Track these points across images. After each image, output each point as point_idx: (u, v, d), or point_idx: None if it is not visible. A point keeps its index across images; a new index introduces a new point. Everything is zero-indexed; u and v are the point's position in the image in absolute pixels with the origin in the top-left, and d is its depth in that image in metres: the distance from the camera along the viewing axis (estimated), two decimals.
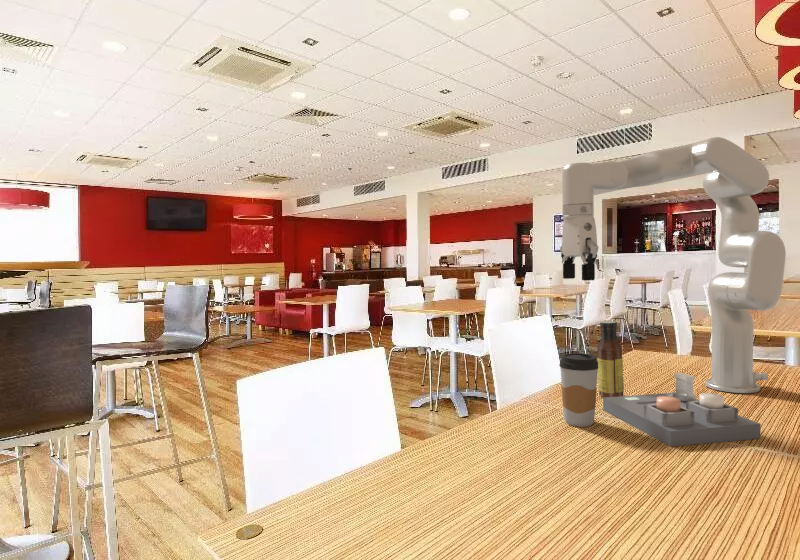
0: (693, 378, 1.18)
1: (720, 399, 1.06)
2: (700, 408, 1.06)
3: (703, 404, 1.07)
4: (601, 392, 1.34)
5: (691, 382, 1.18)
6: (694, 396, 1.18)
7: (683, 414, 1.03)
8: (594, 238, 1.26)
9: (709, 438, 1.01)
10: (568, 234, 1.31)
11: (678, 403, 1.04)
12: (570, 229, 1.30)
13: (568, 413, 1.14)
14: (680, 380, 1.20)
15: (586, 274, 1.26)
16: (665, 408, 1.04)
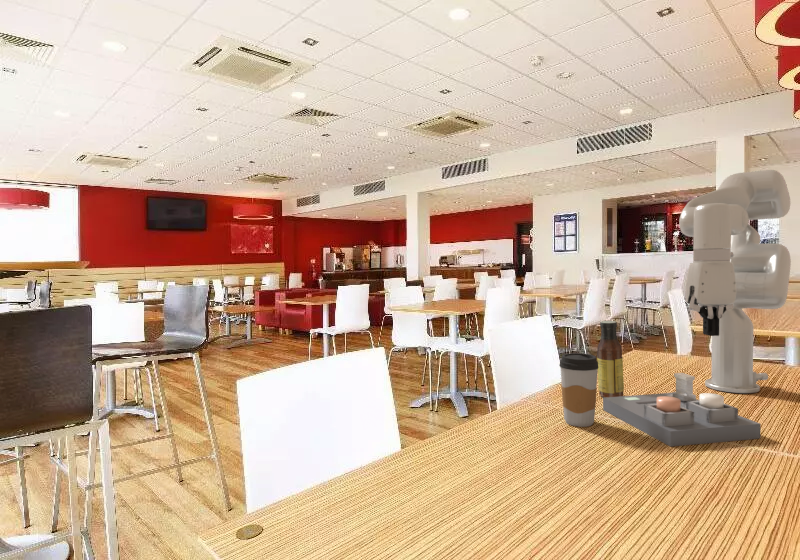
0: (693, 378, 1.18)
1: (720, 399, 1.06)
2: (700, 408, 1.06)
3: (703, 404, 1.07)
4: (601, 392, 1.34)
5: (691, 382, 1.18)
6: (694, 396, 1.18)
7: (683, 414, 1.03)
8: None
9: (709, 438, 1.01)
10: (718, 281, 1.17)
11: (678, 403, 1.04)
12: (722, 275, 1.17)
13: (568, 413, 1.14)
14: (680, 380, 1.20)
15: None
16: (665, 408, 1.04)
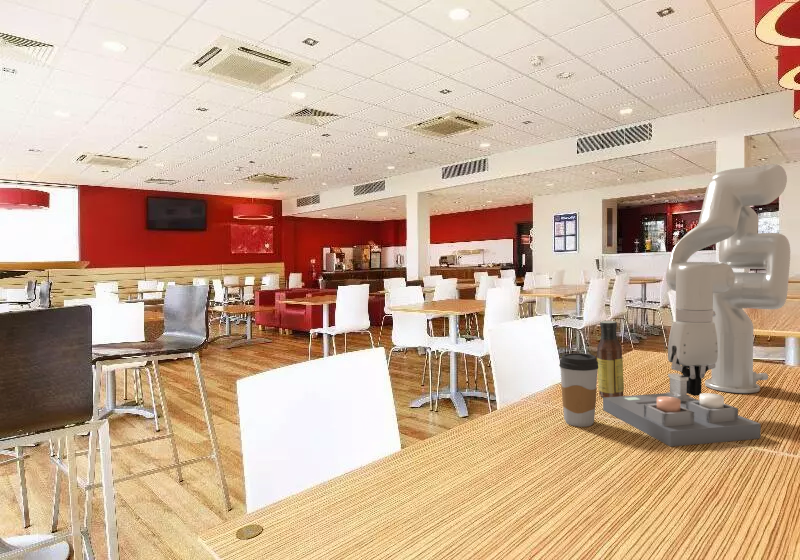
0: (687, 378, 1.18)
1: (720, 399, 1.06)
2: (700, 408, 1.06)
3: (703, 404, 1.07)
4: (601, 392, 1.34)
5: (685, 382, 1.18)
6: (688, 396, 1.18)
7: (683, 414, 1.03)
8: None
9: (709, 438, 1.01)
10: (700, 342, 1.17)
11: (678, 403, 1.04)
12: (704, 336, 1.17)
13: (568, 413, 1.14)
14: (674, 380, 1.20)
15: None
16: (665, 408, 1.04)
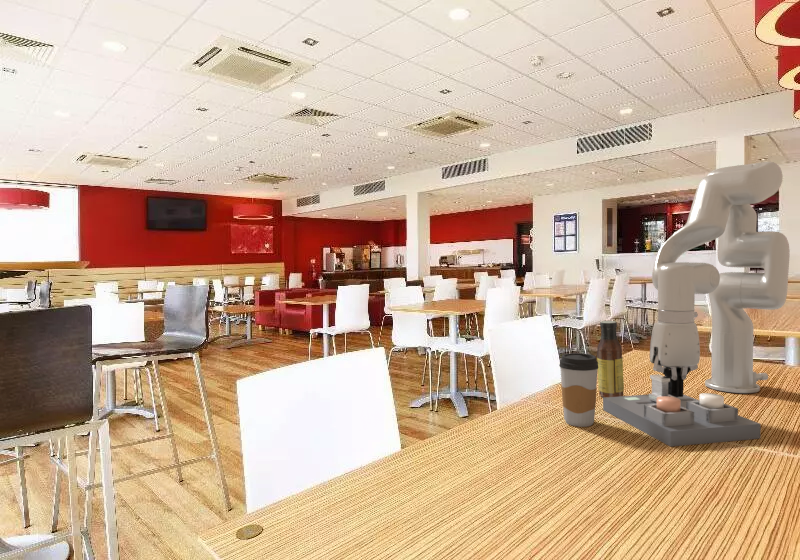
0: (668, 380, 1.17)
1: (720, 399, 1.06)
2: (700, 408, 1.06)
3: (703, 404, 1.07)
4: (601, 392, 1.34)
5: (667, 383, 1.17)
6: None
7: (683, 414, 1.03)
8: None
9: (709, 438, 1.01)
10: (681, 343, 1.16)
11: (678, 403, 1.04)
12: (686, 337, 1.17)
13: (568, 413, 1.14)
14: (656, 382, 1.19)
15: None
16: (665, 408, 1.04)
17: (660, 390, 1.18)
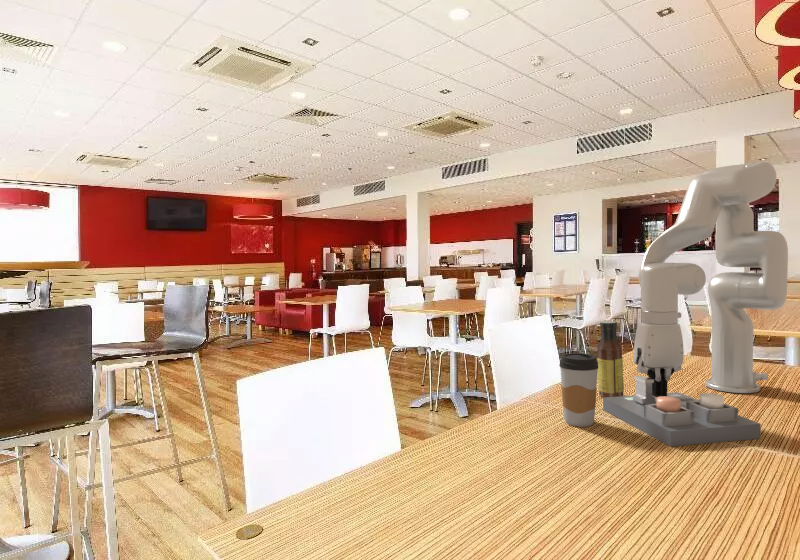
0: (652, 381, 1.16)
1: (720, 399, 1.06)
2: (700, 408, 1.06)
3: (703, 404, 1.07)
4: (601, 392, 1.34)
5: (651, 384, 1.17)
6: (653, 399, 1.17)
7: (683, 414, 1.03)
8: None
9: (709, 438, 1.01)
10: (665, 344, 1.16)
11: (678, 403, 1.04)
12: (669, 338, 1.16)
13: (568, 413, 1.14)
14: (640, 383, 1.18)
15: None
16: (665, 408, 1.04)
17: (644, 391, 1.17)
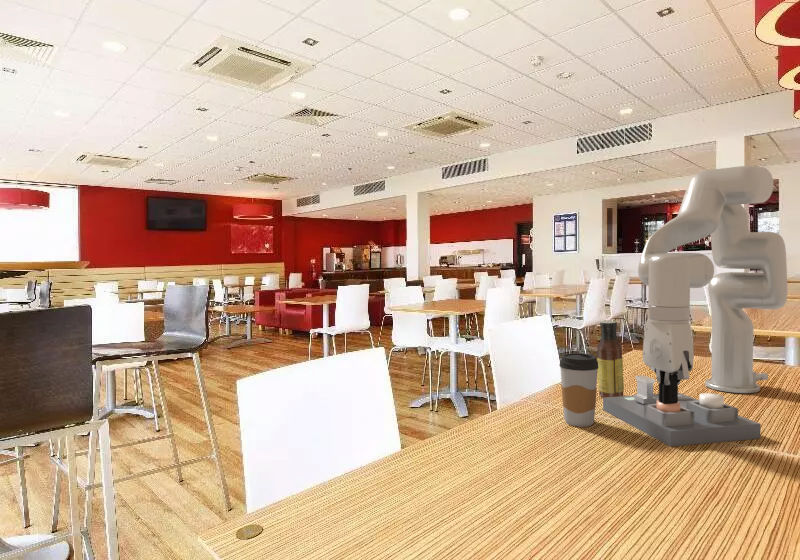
0: (653, 381, 1.16)
1: (720, 399, 1.06)
2: (700, 408, 1.06)
3: (703, 404, 1.07)
4: (601, 392, 1.34)
5: (652, 384, 1.17)
6: (655, 399, 1.17)
7: (683, 414, 1.03)
8: None
9: (709, 438, 1.01)
10: None
11: (678, 406, 1.04)
12: None
13: (568, 413, 1.14)
14: (641, 383, 1.18)
15: None
16: (665, 411, 1.04)
17: (645, 391, 1.17)
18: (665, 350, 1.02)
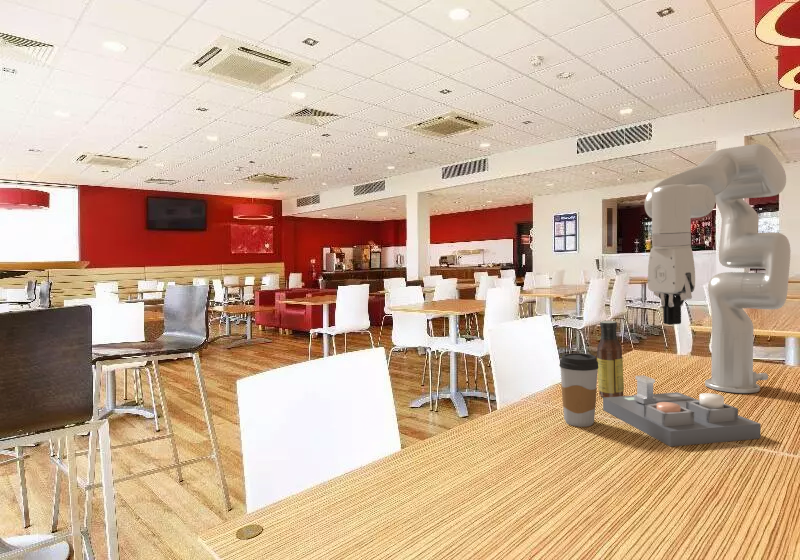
0: (653, 381, 1.16)
1: (720, 399, 1.06)
2: (700, 408, 1.06)
3: (703, 404, 1.07)
4: (601, 392, 1.34)
5: (652, 384, 1.17)
6: (655, 399, 1.17)
7: (683, 414, 1.03)
8: None
9: (709, 438, 1.01)
10: None
11: (678, 409, 1.04)
12: None
13: (568, 413, 1.14)
14: (641, 383, 1.18)
15: None
16: None
17: (645, 391, 1.17)
18: (669, 273, 1.10)
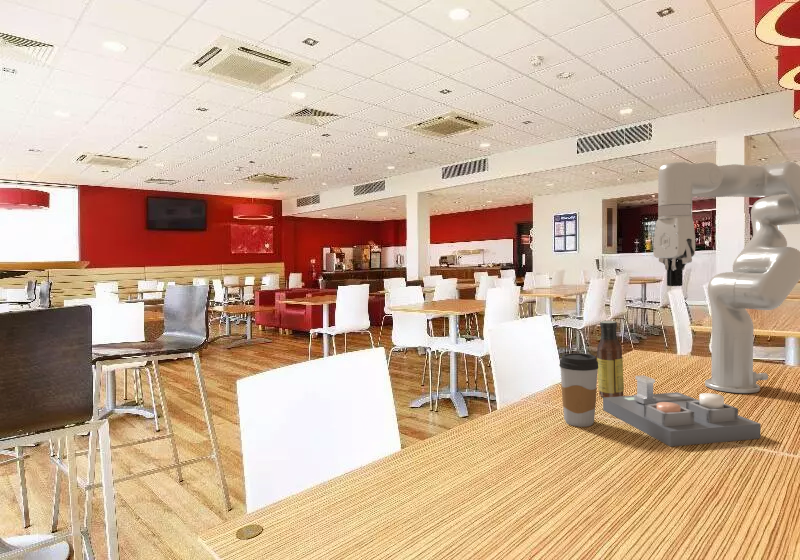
0: (653, 381, 1.16)
1: (720, 399, 1.06)
2: (700, 408, 1.06)
3: (703, 404, 1.07)
4: (601, 392, 1.34)
5: (652, 384, 1.17)
6: (655, 399, 1.17)
7: (683, 414, 1.03)
8: None
9: (709, 438, 1.01)
10: None
11: (678, 409, 1.04)
12: None
13: (568, 413, 1.14)
14: (641, 383, 1.18)
15: None
16: None
17: (645, 391, 1.17)
18: (672, 240, 1.26)
